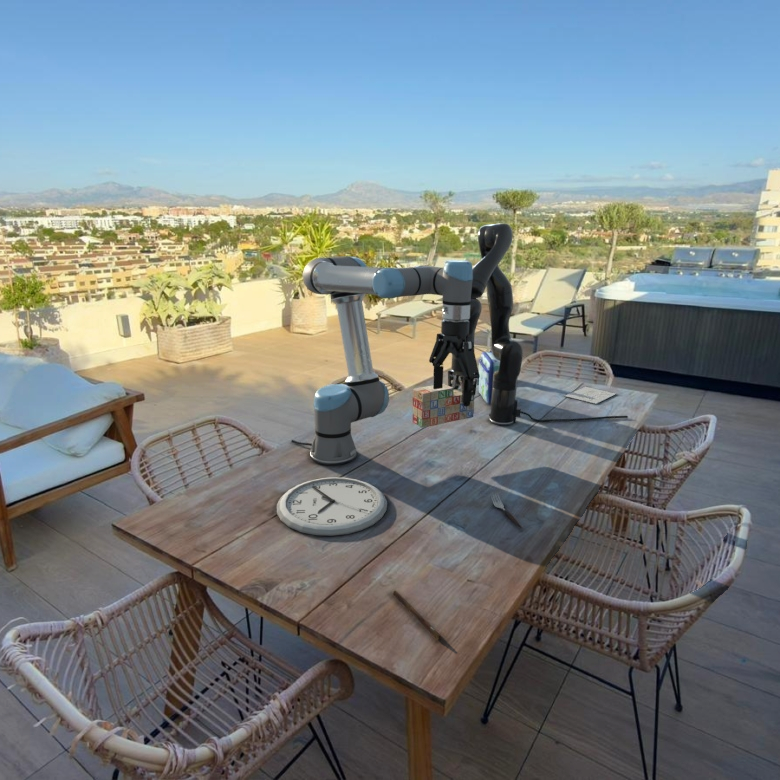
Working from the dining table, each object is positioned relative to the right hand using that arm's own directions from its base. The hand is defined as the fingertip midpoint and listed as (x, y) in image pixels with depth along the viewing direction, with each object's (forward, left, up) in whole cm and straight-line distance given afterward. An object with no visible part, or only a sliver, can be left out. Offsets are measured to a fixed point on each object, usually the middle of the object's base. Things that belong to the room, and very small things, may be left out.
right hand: (460, 402), depth 183 cm
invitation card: (-80, -38, -15) cm, 90 cm away
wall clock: (+50, +35, -15) cm, 63 cm away
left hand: (+16, +30, +13) cm, 37 cm away
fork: (+6, +50, -15) cm, 52 cm away
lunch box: (-32, -42, -15) cm, 55 cm away
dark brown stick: (+41, +81, -15) cm, 92 cm away
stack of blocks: (+7, +2, -5) cm, 9 cm away
